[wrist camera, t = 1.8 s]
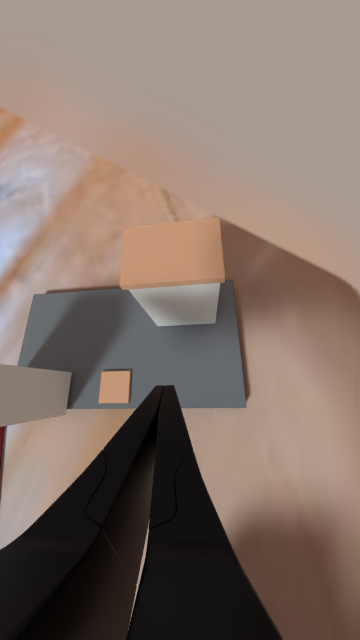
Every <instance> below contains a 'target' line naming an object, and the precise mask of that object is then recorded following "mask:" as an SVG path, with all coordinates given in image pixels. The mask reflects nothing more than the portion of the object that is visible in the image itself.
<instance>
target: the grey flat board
mask: <svg viewBox="0 0 360 640" xmlns="http://www.w3.org/2000/svg"><path fill="white" fill-rule="evenodd" d="M18 366H21V367H30V368H38V369H47V370H56V371H64V372H72V375H71V382H70V389H69V396H68V402H67V409H118V408H137V407H138V406H139V405H140V404H141V403H142V401H143V400H144V399H145V398H146V397H147V395H148V394H149V393H150V392H151V391H152V389H153V388H154V387H155V386H156V385H164V386H166V385H174V386H175V389H176V393H177V396H178V399H179V403H180V406H181V408H246V399H245V390H244V380H243V371H242V362H241V353H240V344H239V335H238V325H237V316H236V307H235V298H234V289H233V280H225V281H224V283H220V290H219V297H218V305H217V313H216V321H215V323H213V324H194V325H175V326H157V325H156V324H155V322H154V321H153V320H152V319H151V317H150V316H149V315H148V314H147V312H146V311H145V310H144V308H143V307H142V306H141V305H140V303H139V302H138V301H137V300H136V298H135V297H134V296H133V295H132V293H131V292H130V291H129V290H123V289H122V288H117V289H104V290H90V291H77V292H63V293H50V294H37V295H34V296H33V300H32V304H31V309H30V313H29V318H28V322H27V326H26V331H25V335H24V339H23V344H22V348H21V353H20V357H19V361H18Z"/></svg>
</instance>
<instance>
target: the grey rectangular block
mask: <svg viewBox="0 0 360 640" xmlns="http://www.w3.org/2000/svg"><path fill="white" fill-rule="evenodd" d="M71 375H72V372H64V371H56V370H47V369H38V368H30V367H21V366H13V365H4V364H0V427H2V426H8V425H13V424H18V423H24V422H29V421H34V420H40V419H45V418H50V417H56V416H61V415H66V409H67V402H68V396H69V389H70V382H71Z"/></svg>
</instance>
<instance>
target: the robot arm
mask: <svg viewBox="0 0 360 640" xmlns="http://www.w3.org/2000/svg"><path fill="white" fill-rule="evenodd" d="M149 518H150V521H149ZM148 524H149V533H148V543H147V551H146V557H145V562H144V567H143V571H142V575H141V579H140V583H139V588H138V592H137V596H136V600H135V604H134V609H133V613H132V608H133V602H134V597H135V592H136V584H137V581H138V576H139V571H140V565H141V560H142V555H143V550H144V545H145V539H146V534H147V529H148ZM131 613H132V617H131ZM130 618H131V621H130ZM129 623H130V625H129ZM128 628H129V630H128ZM0 640H284V639H283V637H282V636H281V634H280V632H279V631H278V629H277V627H276V625H275V624H274V622H273V620H272V618H271V617H270V615H269V613H268V611H267V610H266V608H265V606H264V604H263V603H262V601H261V599H260V597H259V596H258V594H257V592H256V590H255V589H254V587H253V585H252V583H251V582H250V580H249V578H248V577H247V575H246V573H245V571H244V570H243V568H242V566H241V564H240V562H239V560H238V558H237V556H236V554H235V552H234V550H233V548H232V546H231V544H230V541H229V539H228V537H227V535H226V532H225V530H224V528H223V526H222V523H221V521H220V519H219V516H218V514H217V512H216V509H215V507H214V505H213V503H212V500H211V498H210V496H209V493H208V491H207V488H206V486H205V483H204V481H203V479H202V476H201V473H200V470H199V467H198V464H197V461H196V457H195V454H194V452H193V447H192V444H191V440H190V437H189V434H188V430H187V427H186V423H185V420H184V417H183V413H182V410H181V406H180V403H179V399H178V396H177V393H176V389H175V386H174V385H166V386H164V385H156V386H155V387H154V388H153V389H152V391H151V392H150V393H149V394H148V395H147V397H146V398H145V399H144V400H143V401H142V403H141V404H140V405H139V406H138V407H137V409H136V410H135V411H134V412H133V413H132V415H131V416H130V417H129V418H128V420H127V421H126V422H125V423H124V424H123V426H122V427H121V428H120V429H119V430H118V432H117V433H116V434H115V435H114V436H113V438H112V439H111V440H110V441H109V442H108V444H107V445H106V446H105V447H104V450H102V451H101V452H100V453H99V454H98V455H97V457H96V458H95V459H94V460H93V461H92V463H91V464H90V465H89V466H88V467H87V468H86V469H85V471H84V472H83V473H82V474H81V475H80V476H79V477H78V478H77V479H76V480H75V481H74V482H73V483H72V485H71V486H70V487H69V488H68V489H67V490H66V491H65V492H64V493H63V494H62V495H61V496H60V497H59V498H58V499H57V500H56V501H55V502H54V503H53V504H52V505H51V506H50V507H49V508H48V509H47V510H46V511H45V512H44V513H43V514H42V515H41V516H40V517H39V518H38V519H37V520H36V521H35V522H34V523H33V524H32V525H31V526H30V527H29V528H28V529H27V530H26V531H25V532H24V533H23V534H22V535H20V536H19V537H18V538H17V539H15V540H14V541H13V542H11V543H10V544H9V545H7V546H6V547H4V548H2V549H1V550H0Z"/></svg>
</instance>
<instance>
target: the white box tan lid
mask: <svg viewBox="0 0 360 640" xmlns="http://www.w3.org/2000/svg"><path fill="white" fill-rule="evenodd" d="M224 281H225V271H224V261H223V250H222V240H221V230H220V219H219V218H211V219H202V220H193V221H183V222H174V223H165V224H156V225H146V226H137V227H128V228H124V238H123V250H122V261H121V273H120V285H119V286H120V287H121V288H122V289H123V290H129V291H130V292H131V293H132V295H133V296H134V297H135V298H136V300H137V301H138V302H139V303H140V305H141V306H142V307H143V308H144V310H145V311H146V312H147V314H148V315H149V316H150V317H151V319H152V320H153V321H154V322H155V324H156V325H157V326H175V325H194V324H213V323H215V321H216V313H217V305H218V297H219V290H220V283H224Z"/></svg>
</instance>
